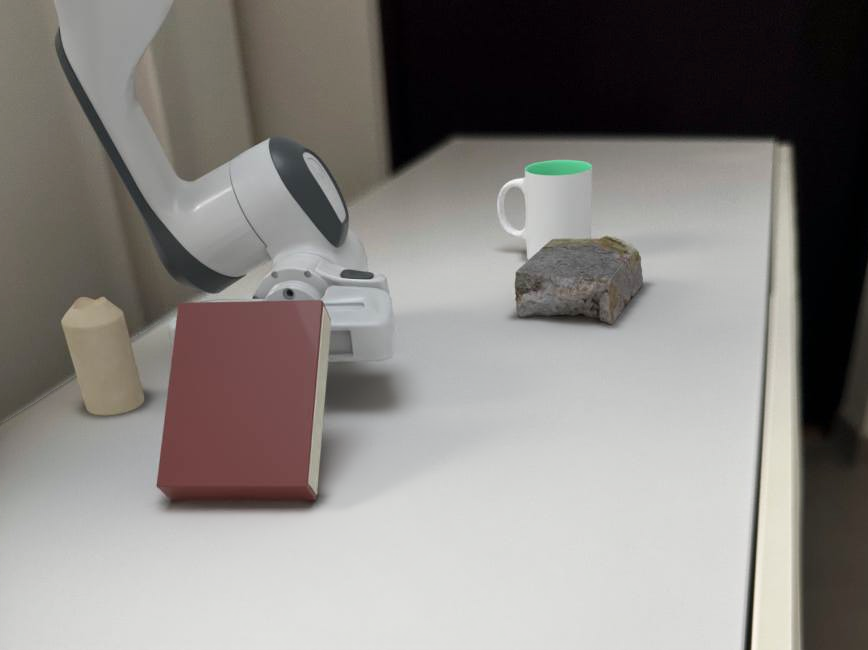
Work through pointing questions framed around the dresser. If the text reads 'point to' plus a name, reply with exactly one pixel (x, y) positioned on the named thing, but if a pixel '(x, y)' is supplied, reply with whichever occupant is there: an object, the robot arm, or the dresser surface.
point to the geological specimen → (579, 278)
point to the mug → (552, 203)
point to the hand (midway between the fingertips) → (263, 364)
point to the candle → (102, 356)
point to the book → (245, 401)
